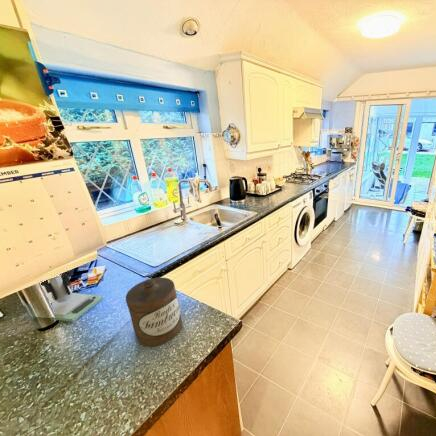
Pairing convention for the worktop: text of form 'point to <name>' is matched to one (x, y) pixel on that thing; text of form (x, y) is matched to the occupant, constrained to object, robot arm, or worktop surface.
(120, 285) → the worktop surface
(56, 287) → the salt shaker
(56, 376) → the worktop surface
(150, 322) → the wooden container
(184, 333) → the worktop surface
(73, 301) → the kitchen scale
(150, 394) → the worktop surface
